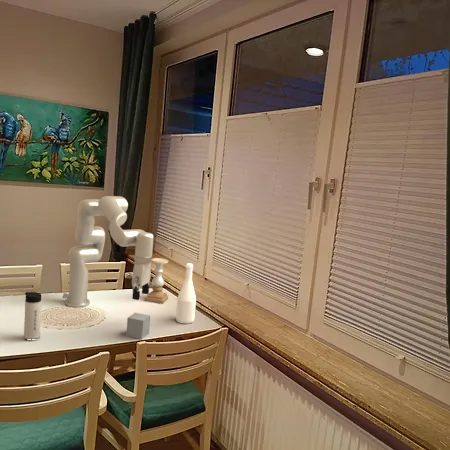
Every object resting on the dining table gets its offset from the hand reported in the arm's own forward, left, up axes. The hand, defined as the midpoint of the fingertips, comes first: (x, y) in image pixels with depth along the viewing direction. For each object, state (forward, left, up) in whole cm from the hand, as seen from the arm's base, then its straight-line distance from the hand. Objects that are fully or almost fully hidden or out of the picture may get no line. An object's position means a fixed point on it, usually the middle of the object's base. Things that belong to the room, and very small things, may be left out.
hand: (140, 296), depth 197 cm
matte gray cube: (0, 0, -18) cm, 18 cm away
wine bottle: (+13, +28, -18) cm, 36 cm away
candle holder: (-13, +52, -18) cm, 57 cm away
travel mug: (-38, -24, -18) cm, 49 cm away
